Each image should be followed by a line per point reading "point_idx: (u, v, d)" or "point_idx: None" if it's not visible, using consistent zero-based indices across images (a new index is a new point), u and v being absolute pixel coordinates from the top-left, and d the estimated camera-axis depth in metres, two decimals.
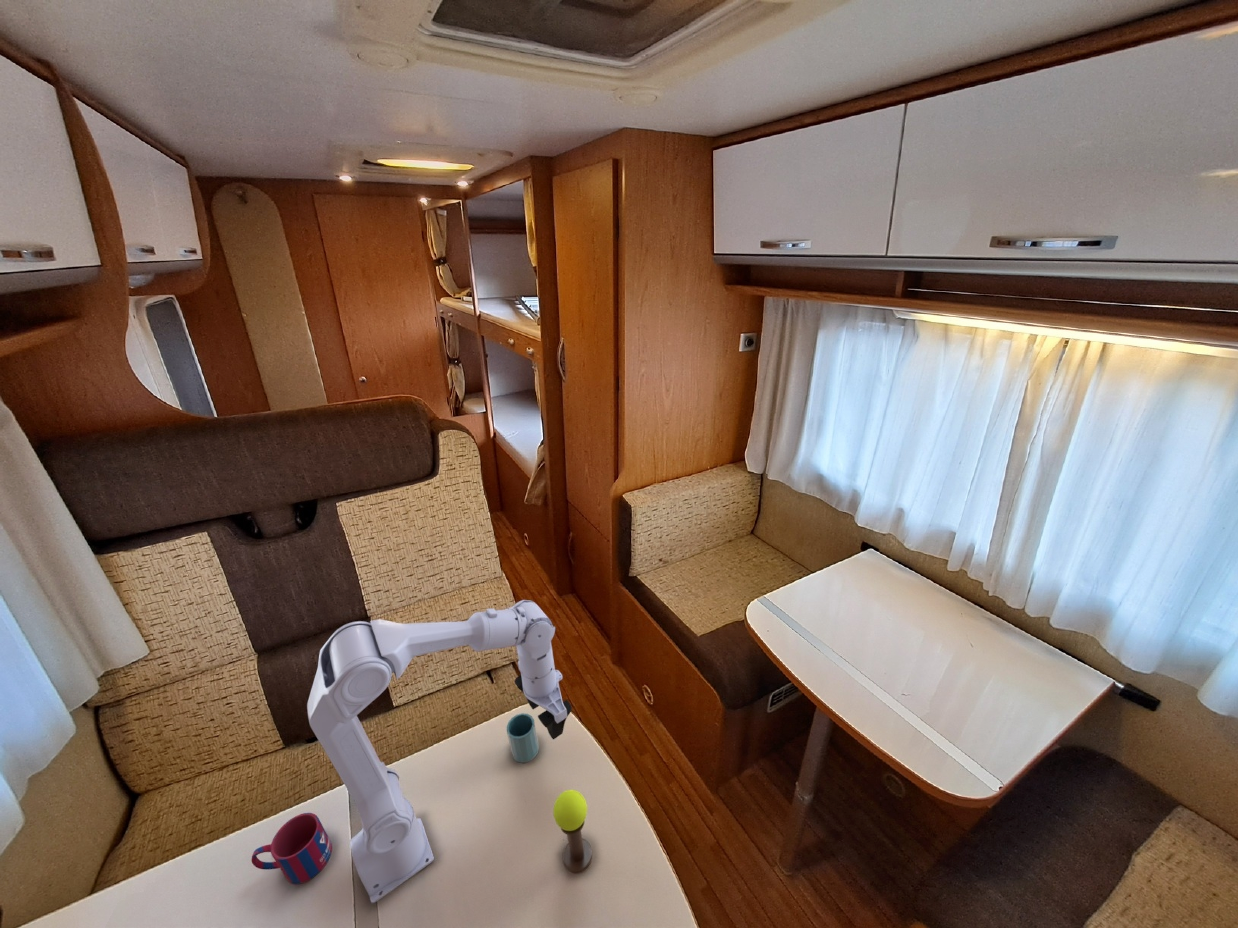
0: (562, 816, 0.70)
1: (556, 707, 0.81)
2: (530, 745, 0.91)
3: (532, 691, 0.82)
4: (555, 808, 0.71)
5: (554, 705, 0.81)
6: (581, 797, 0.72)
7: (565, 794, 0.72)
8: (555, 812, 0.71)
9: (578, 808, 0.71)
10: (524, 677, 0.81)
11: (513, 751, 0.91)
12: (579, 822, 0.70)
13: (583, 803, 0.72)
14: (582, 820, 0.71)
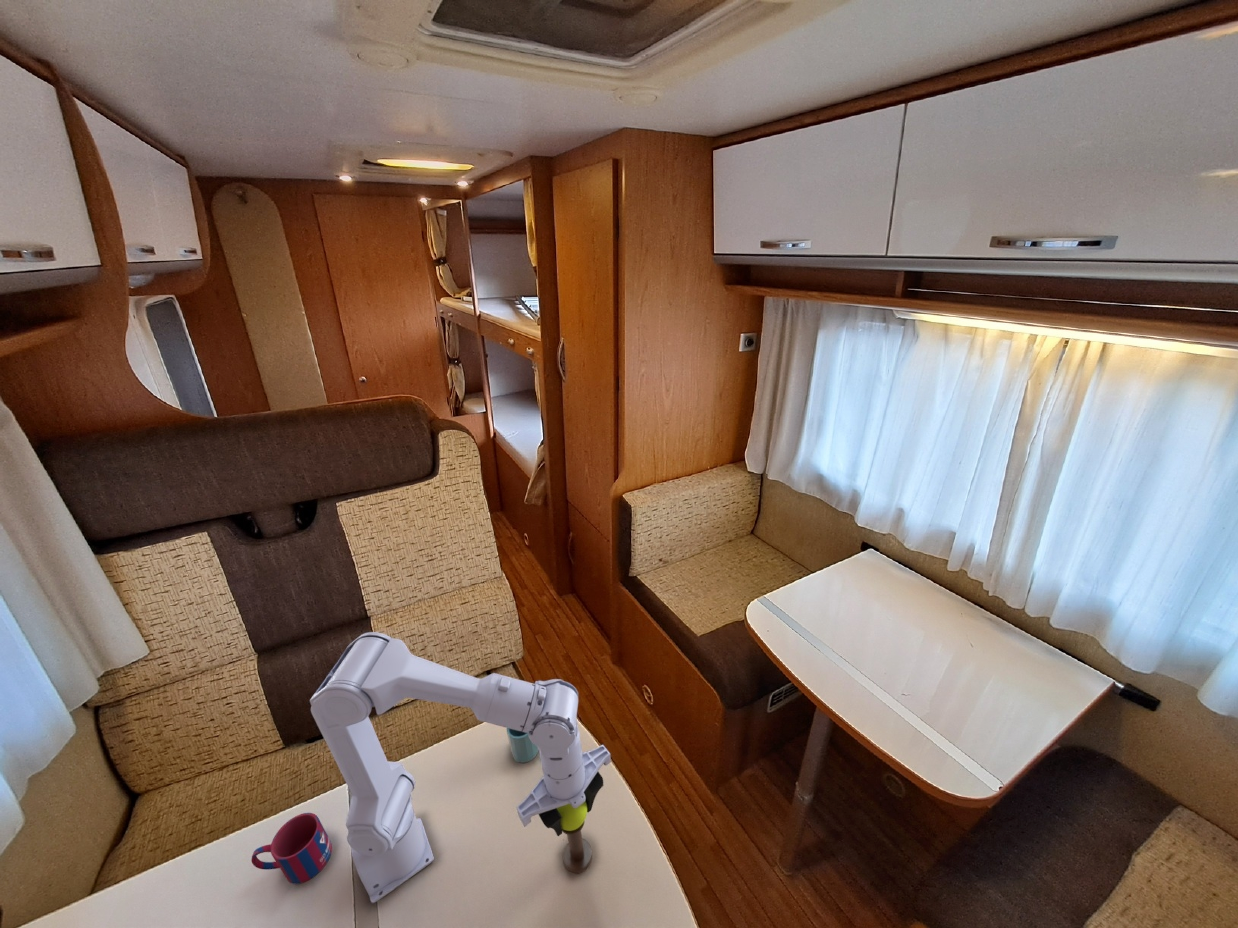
0: (563, 816, 0.70)
1: (528, 805, 0.66)
2: (530, 745, 0.91)
3: None
4: None
5: (532, 802, 0.67)
6: None
7: None
8: None
9: (578, 808, 0.71)
10: None
11: (513, 751, 0.91)
12: (580, 822, 0.71)
13: (583, 803, 0.72)
14: (582, 820, 0.71)
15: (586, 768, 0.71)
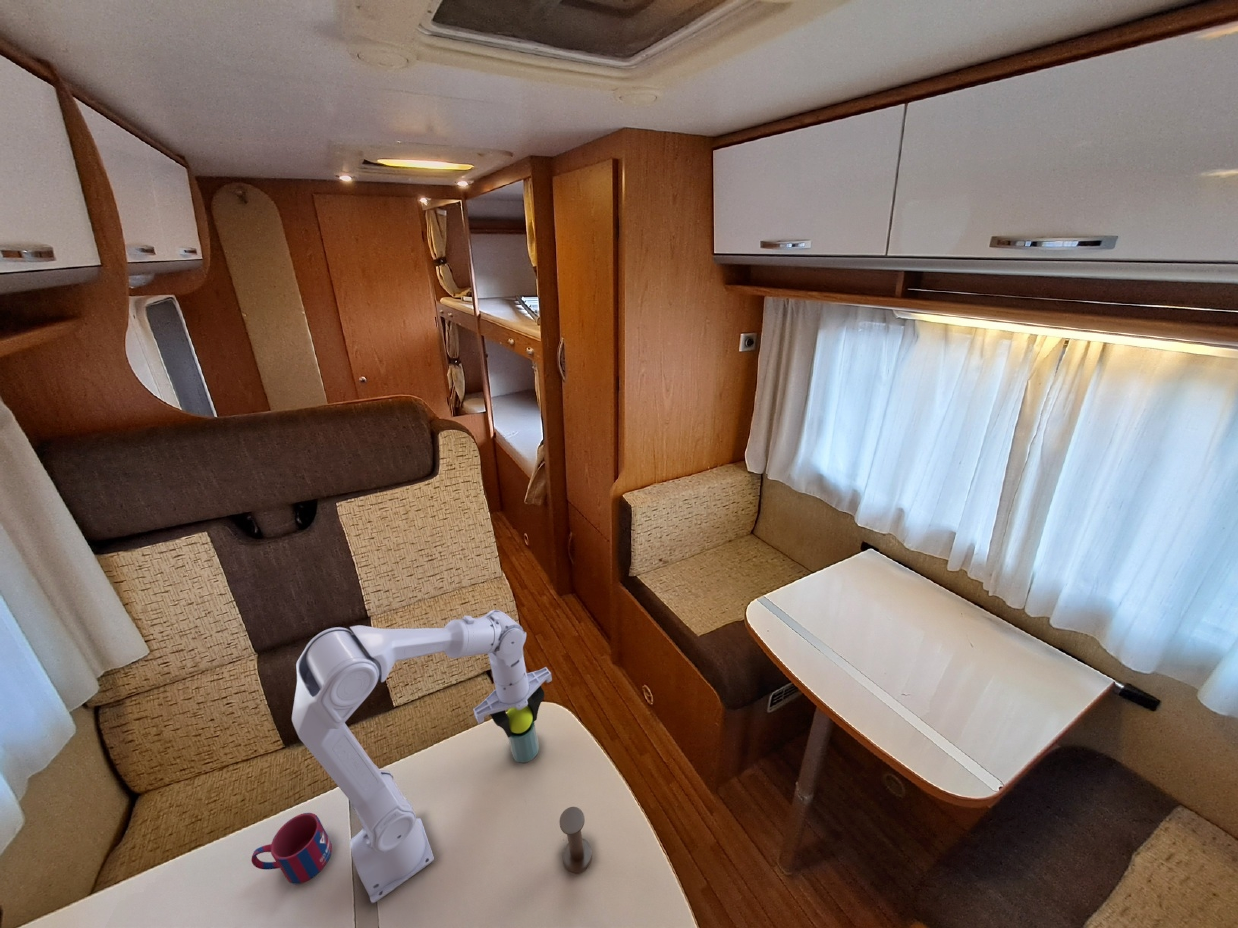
0: (511, 720, 0.88)
1: (482, 708, 0.85)
2: (530, 745, 0.91)
3: None
4: None
5: (485, 706, 0.85)
6: (528, 708, 0.91)
7: None
8: None
9: (524, 715, 0.89)
10: None
11: (513, 751, 0.91)
12: (525, 725, 0.89)
13: (529, 712, 0.90)
14: (527, 724, 0.89)
15: (531, 683, 0.89)
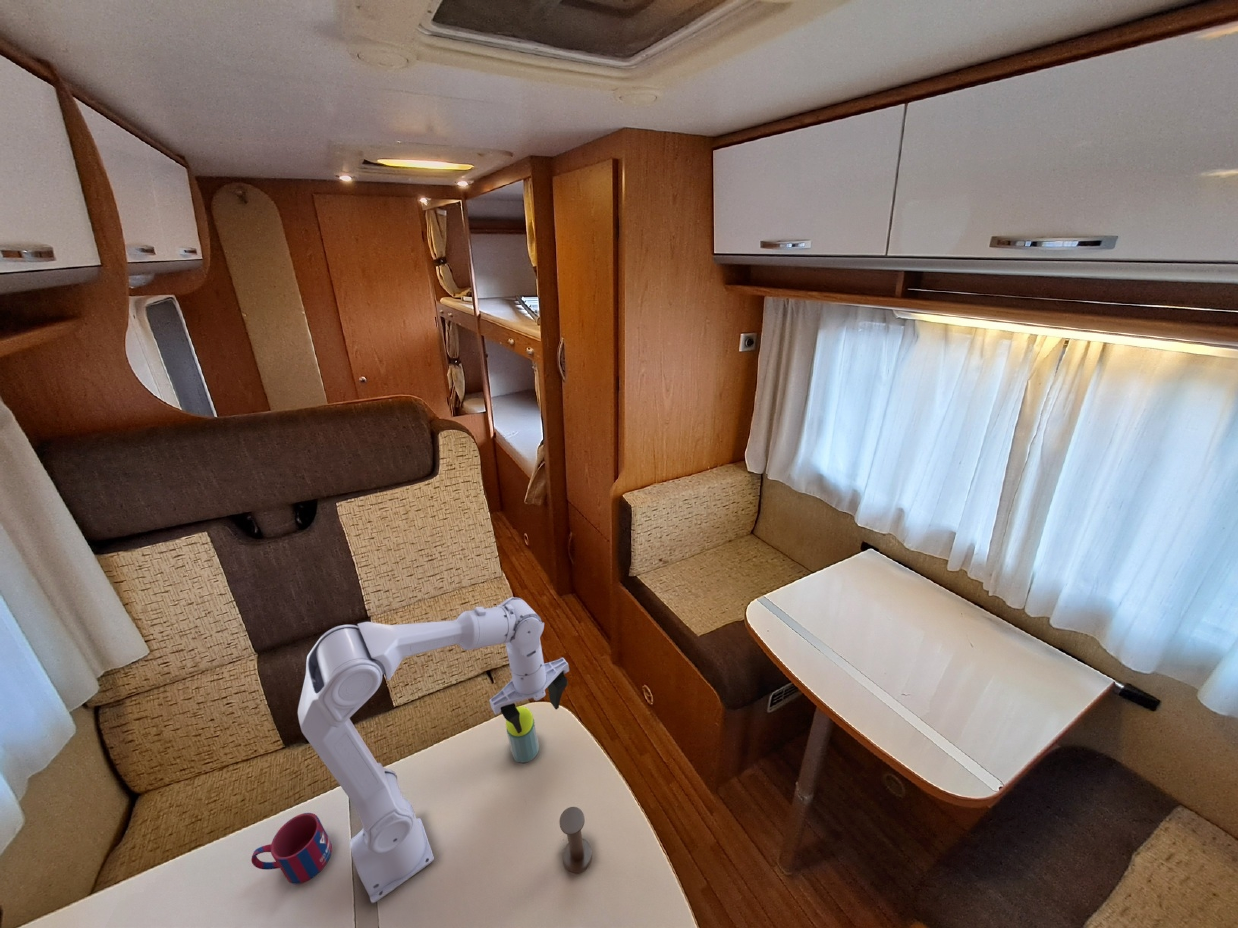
0: (512, 724, 0.89)
1: (499, 698, 0.82)
2: (530, 745, 0.91)
3: None
4: None
5: (502, 696, 0.83)
6: (528, 711, 0.91)
7: None
8: (507, 721, 0.90)
9: (525, 718, 0.89)
10: None
11: (513, 751, 0.91)
12: (526, 729, 0.89)
13: (529, 715, 0.90)
14: (528, 728, 0.90)
15: (548, 674, 0.87)
